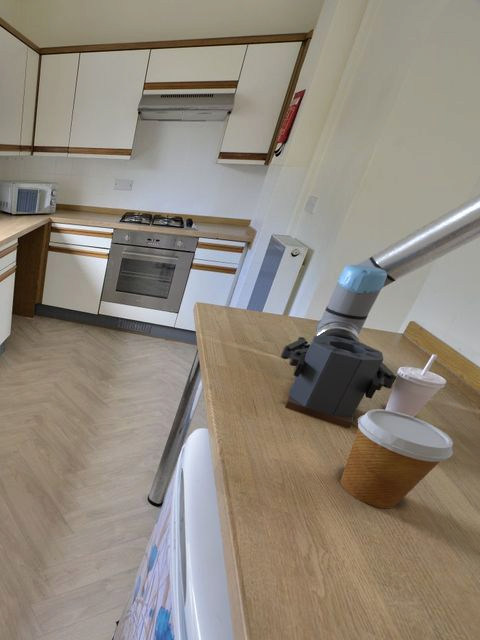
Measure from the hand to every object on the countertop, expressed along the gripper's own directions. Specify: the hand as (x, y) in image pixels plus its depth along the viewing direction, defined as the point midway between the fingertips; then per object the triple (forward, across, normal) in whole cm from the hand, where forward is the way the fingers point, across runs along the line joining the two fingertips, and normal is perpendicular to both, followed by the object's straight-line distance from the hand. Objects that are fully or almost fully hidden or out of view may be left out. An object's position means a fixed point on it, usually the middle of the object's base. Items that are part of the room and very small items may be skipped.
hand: (333, 380), depth 75 cm
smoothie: (-11, -12, -8) cm, 19 cm away
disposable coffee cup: (+20, -7, -8) cm, 22 cm away
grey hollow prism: (-4, 0, -7) cm, 8 cm away
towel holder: (-4, 0, -8) cm, 9 cm away
